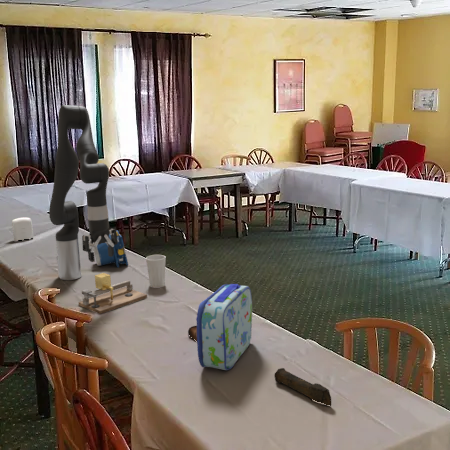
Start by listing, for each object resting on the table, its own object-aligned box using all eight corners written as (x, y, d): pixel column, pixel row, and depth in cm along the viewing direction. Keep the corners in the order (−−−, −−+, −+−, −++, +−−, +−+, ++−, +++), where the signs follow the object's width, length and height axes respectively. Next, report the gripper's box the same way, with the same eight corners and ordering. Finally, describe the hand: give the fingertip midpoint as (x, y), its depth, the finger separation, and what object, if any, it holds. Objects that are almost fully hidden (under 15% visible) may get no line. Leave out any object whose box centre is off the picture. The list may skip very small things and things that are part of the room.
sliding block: (96, 297, 229) (94, 275, 227) (105, 294, 232) (103, 272, 230) (108, 301, 224) (106, 279, 222) (117, 298, 226) (115, 276, 224)
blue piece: (123, 257, 285) (117, 227, 281) (128, 265, 272) (122, 234, 267) (96, 264, 282) (89, 234, 278) (100, 273, 268) (92, 241, 264)
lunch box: (224, 336, 195) (223, 275, 190) (256, 340, 191) (255, 278, 186) (193, 372, 171) (190, 303, 166) (228, 377, 167) (226, 307, 162)
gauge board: (78, 305, 225) (77, 289, 224) (125, 289, 241) (124, 275, 240) (100, 314, 216) (99, 298, 215) (147, 297, 232) (146, 282, 230)
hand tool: (273, 383, 164) (273, 367, 163) (284, 378, 166) (284, 363, 165) (323, 412, 149) (323, 395, 148) (334, 406, 151) (334, 390, 150)
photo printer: (14, 242, 320) (12, 219, 317) (13, 240, 324) (10, 218, 321) (34, 239, 325) (31, 217, 322) (32, 237, 328) (30, 215, 326)
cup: (170, 283, 247) (169, 255, 244) (160, 289, 240) (159, 261, 237) (154, 281, 251) (152, 253, 248) (143, 287, 244) (142, 259, 241)
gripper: (107, 212, 229) (111, 253, 233) (76, 219, 219) (80, 261, 223) (119, 215, 224) (122, 256, 228) (87, 222, 214) (91, 265, 218)
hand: (101, 258), depth 225 cm, fingers open, 8 cm apart
